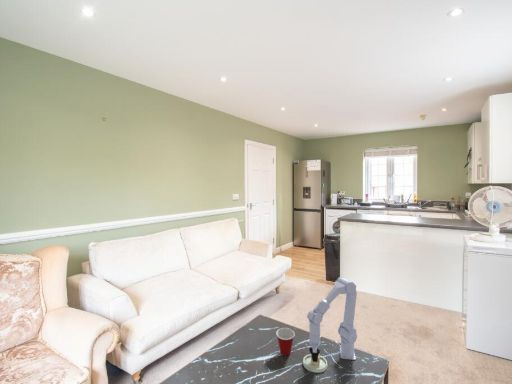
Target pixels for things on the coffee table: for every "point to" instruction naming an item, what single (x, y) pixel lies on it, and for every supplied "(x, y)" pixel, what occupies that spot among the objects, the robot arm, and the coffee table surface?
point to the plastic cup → (285, 340)
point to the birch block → (316, 362)
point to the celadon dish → (315, 368)
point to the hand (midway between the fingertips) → (315, 357)
